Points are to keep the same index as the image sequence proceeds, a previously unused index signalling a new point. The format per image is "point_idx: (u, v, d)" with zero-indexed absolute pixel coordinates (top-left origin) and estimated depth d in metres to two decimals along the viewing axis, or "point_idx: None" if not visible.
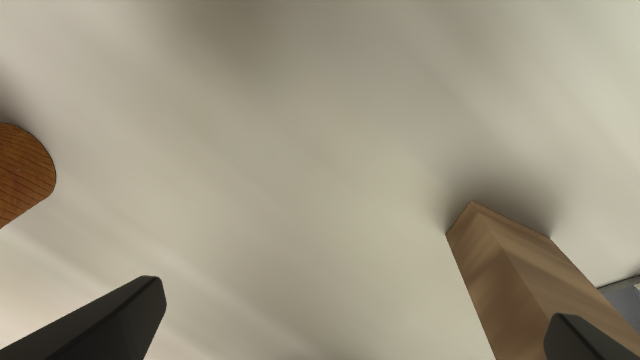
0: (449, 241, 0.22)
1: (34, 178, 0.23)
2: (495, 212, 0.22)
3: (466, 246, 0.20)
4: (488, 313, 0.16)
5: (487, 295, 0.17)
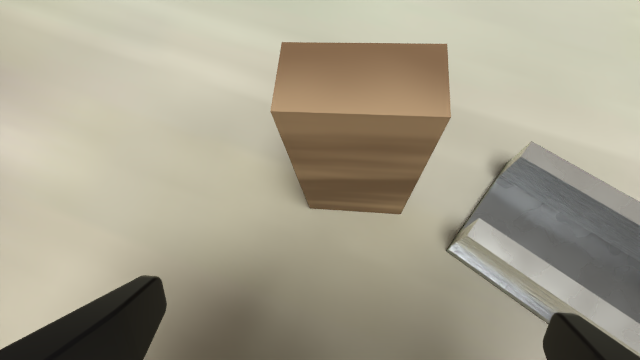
0: (308, 202, 0.22)
1: None
2: None
3: None
4: None
5: None
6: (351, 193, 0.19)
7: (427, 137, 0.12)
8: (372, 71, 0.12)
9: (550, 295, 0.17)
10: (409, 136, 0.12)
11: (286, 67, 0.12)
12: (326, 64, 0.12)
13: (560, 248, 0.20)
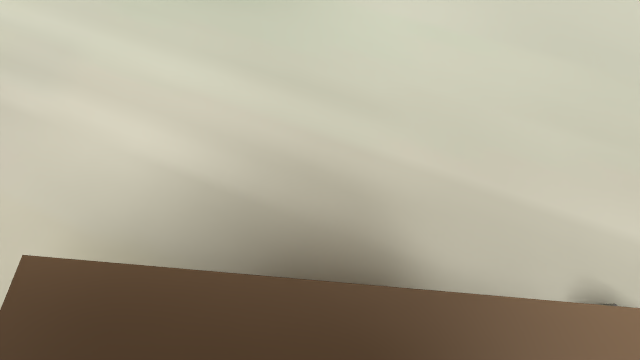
0: None
1: None
2: None
3: None
4: None
5: None
6: None
7: None
8: None
9: None
10: None
11: None
12: None
13: None
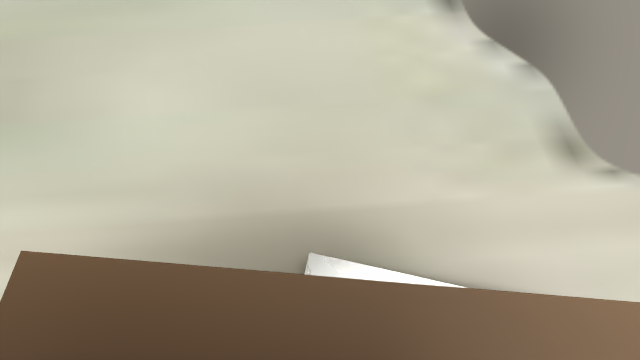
0: None
1: None
2: None
3: None
4: None
5: None
6: None
7: None
8: None
9: None
10: None
11: None
12: None
13: None
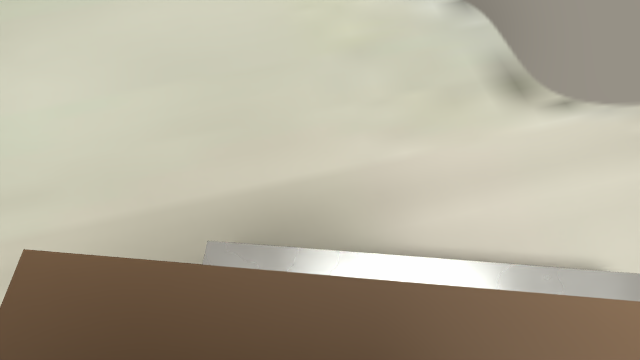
0: None
1: None
2: None
3: None
4: None
5: None
6: None
7: None
8: None
9: None
10: None
11: None
12: None
13: None
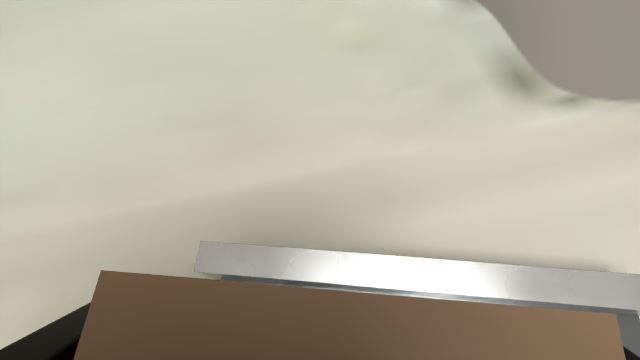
0: None
1: None
2: None
3: None
4: None
5: None
6: None
7: None
8: None
9: None
10: None
11: None
12: None
13: None
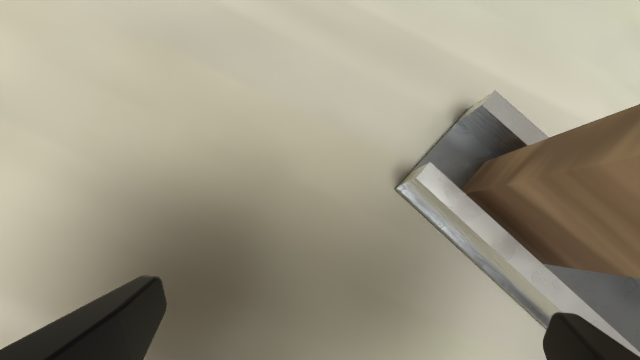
0: (464, 192, 0.20)
1: None
2: None
3: (493, 174, 0.18)
4: (551, 165, 0.14)
5: (543, 162, 0.14)
6: (528, 225, 0.17)
7: None
8: None
9: (478, 238, 0.18)
10: None
11: None
12: None
13: None
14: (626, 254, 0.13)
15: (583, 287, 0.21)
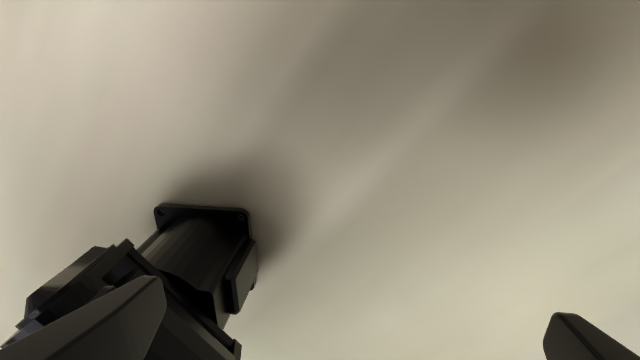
0: None
1: None
2: None
3: None
4: None
5: None
6: None
7: None
8: None
9: None
10: None
11: None
12: None
13: None
14: None
15: None
